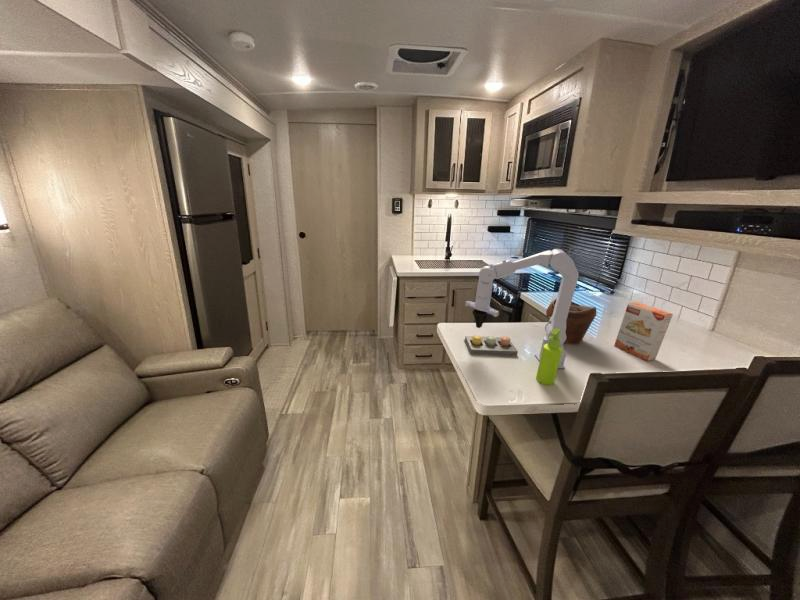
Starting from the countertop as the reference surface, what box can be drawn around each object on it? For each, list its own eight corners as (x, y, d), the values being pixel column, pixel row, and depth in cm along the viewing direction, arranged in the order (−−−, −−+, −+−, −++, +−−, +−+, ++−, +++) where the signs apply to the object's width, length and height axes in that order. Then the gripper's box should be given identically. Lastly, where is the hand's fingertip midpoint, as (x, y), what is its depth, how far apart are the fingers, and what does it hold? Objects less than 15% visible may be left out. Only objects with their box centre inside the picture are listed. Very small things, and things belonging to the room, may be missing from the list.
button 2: (510, 347, 126) (511, 341, 125) (501, 347, 126) (502, 340, 125) (507, 342, 130) (508, 336, 129) (498, 342, 130) (499, 336, 129)
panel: (517, 355, 123) (517, 351, 122) (470, 353, 123) (471, 349, 122) (507, 341, 134) (508, 337, 134) (464, 340, 134) (465, 335, 133)
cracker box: (613, 346, 135) (627, 302, 128) (621, 344, 138) (636, 301, 130) (647, 362, 123) (664, 314, 116) (656, 359, 125) (674, 313, 118)
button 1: (482, 346, 126) (483, 339, 125) (472, 345, 126) (473, 339, 125) (479, 341, 130) (480, 335, 129) (470, 341, 130) (471, 335, 129)
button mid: (496, 346, 126) (497, 340, 125) (486, 346, 126) (487, 340, 125) (493, 342, 130) (494, 336, 129) (484, 341, 130) (485, 335, 129)
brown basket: (539, 325, 152) (547, 292, 146) (584, 333, 146) (594, 299, 140) (543, 341, 137) (552, 305, 130) (592, 351, 131) (604, 313, 124)
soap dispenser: (532, 380, 107) (543, 329, 100) (539, 373, 111) (551, 324, 104) (549, 388, 103) (562, 336, 96) (556, 380, 107) (569, 330, 101)
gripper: (505, 299, 118) (499, 330, 123) (474, 289, 128) (470, 319, 133) (495, 302, 114) (489, 335, 118) (464, 292, 124) (460, 322, 128)
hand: (478, 327), depth 125 cm, fingers closed
